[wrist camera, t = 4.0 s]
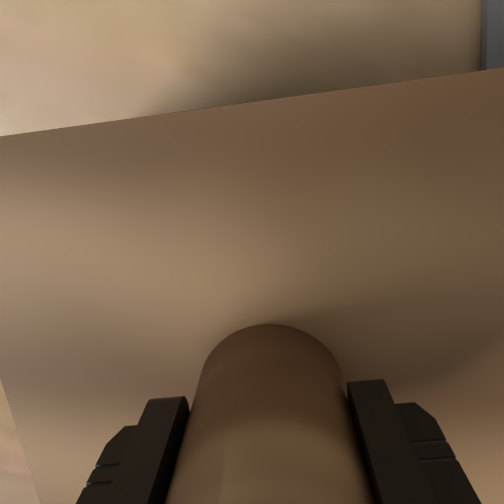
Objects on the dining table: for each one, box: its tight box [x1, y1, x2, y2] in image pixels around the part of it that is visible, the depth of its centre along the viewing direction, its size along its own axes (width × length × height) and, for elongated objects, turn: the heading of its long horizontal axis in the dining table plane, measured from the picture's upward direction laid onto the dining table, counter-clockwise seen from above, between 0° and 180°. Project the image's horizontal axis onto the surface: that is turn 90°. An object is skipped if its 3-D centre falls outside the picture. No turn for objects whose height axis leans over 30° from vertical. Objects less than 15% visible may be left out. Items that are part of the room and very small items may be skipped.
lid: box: [0, 67, 504, 504], centre depth 8 cm, size 13×13×8 cm
